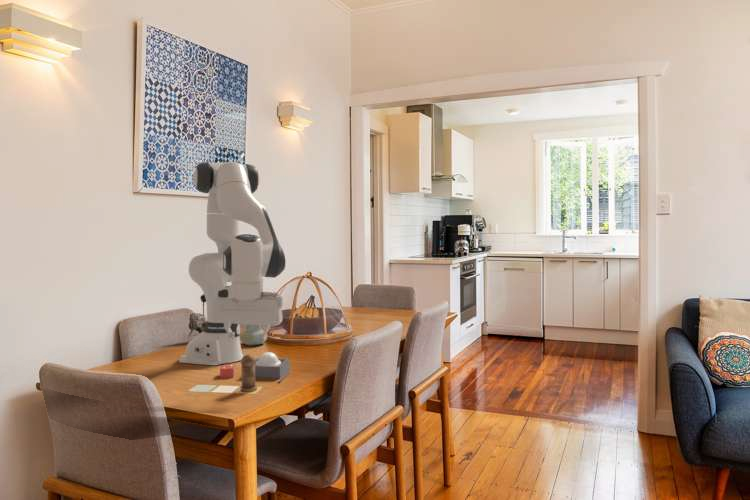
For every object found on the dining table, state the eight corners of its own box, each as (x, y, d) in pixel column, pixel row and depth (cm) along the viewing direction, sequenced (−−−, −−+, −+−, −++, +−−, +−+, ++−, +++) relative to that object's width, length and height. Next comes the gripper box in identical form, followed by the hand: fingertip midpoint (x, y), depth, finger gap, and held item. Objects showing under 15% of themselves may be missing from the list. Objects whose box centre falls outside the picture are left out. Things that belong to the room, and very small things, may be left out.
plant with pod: (186, 340, 240) (185, 293, 239) (213, 338, 244) (213, 292, 243) (188, 344, 232) (187, 295, 231) (216, 342, 237) (215, 294, 236)
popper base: (245, 381, 176) (245, 366, 176) (257, 372, 187) (257, 357, 187) (280, 383, 175) (279, 367, 174) (289, 373, 186) (289, 358, 185)
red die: (220, 381, 176) (220, 367, 176) (221, 378, 180) (221, 364, 180) (233, 381, 177) (233, 367, 176) (234, 377, 181) (234, 364, 180)
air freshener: (270, 343, 234) (270, 319, 233) (258, 347, 226) (258, 322, 226) (249, 341, 238) (249, 317, 238) (236, 345, 231) (236, 320, 230)
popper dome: (252, 375, 177) (251, 354, 177) (260, 368, 185) (260, 349, 185) (276, 375, 176) (276, 355, 176) (284, 369, 184) (283, 349, 184)
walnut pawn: (238, 392, 161) (237, 356, 160) (243, 387, 165) (243, 352, 165) (253, 392, 160) (253, 356, 160) (259, 387, 165) (258, 353, 164)
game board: (184, 396, 161) (184, 392, 161) (197, 387, 170) (197, 383, 170) (255, 399, 158) (255, 394, 158) (265, 390, 167) (265, 385, 167)
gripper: (285, 291, 163) (285, 338, 164) (218, 288, 166) (218, 335, 167) (279, 294, 157) (278, 343, 158) (209, 291, 160) (208, 339, 161)
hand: (246, 339), depth 163 cm, fingers open, 8 cm apart
